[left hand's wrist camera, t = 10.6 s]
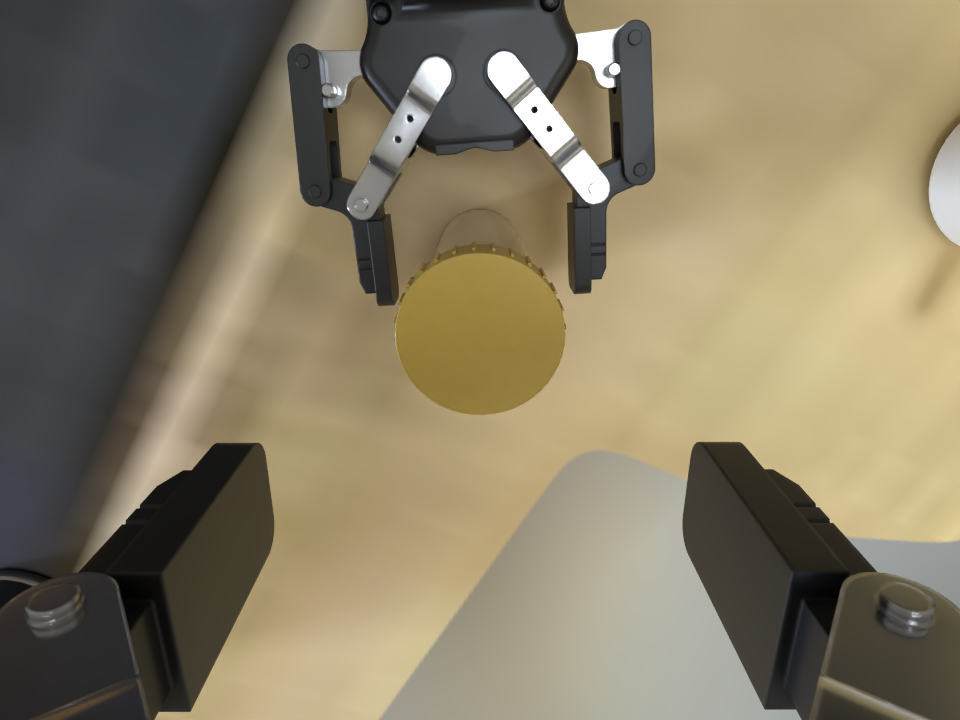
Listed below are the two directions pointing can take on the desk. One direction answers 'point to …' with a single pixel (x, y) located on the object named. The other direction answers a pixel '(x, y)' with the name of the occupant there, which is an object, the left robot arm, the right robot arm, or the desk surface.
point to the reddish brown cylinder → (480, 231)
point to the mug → (947, 187)
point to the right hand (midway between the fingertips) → (484, 295)
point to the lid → (480, 329)
